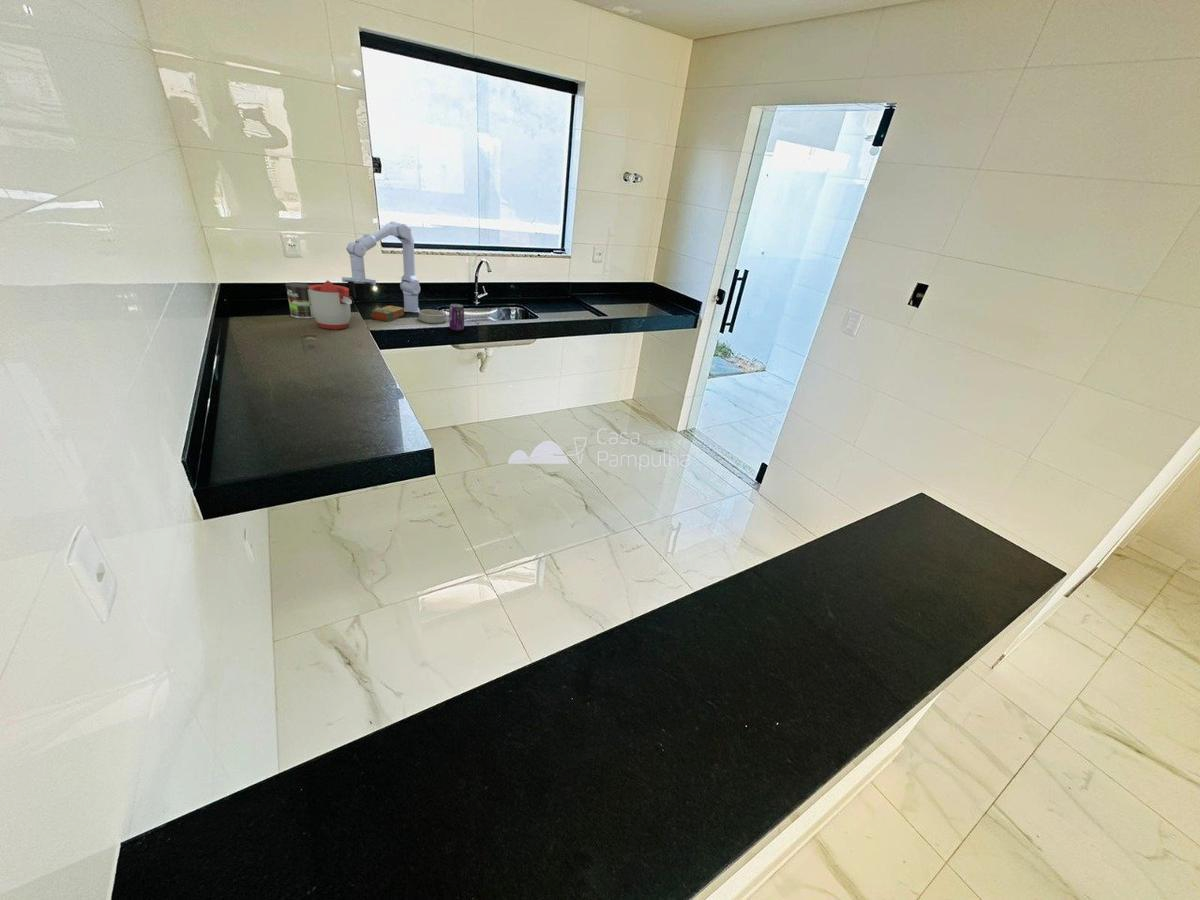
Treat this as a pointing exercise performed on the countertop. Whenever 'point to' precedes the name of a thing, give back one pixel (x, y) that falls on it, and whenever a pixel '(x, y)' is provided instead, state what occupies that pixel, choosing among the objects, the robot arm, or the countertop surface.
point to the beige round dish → (431, 316)
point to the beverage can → (456, 317)
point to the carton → (387, 313)
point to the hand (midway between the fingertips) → (360, 298)
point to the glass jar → (299, 300)
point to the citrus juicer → (330, 305)
